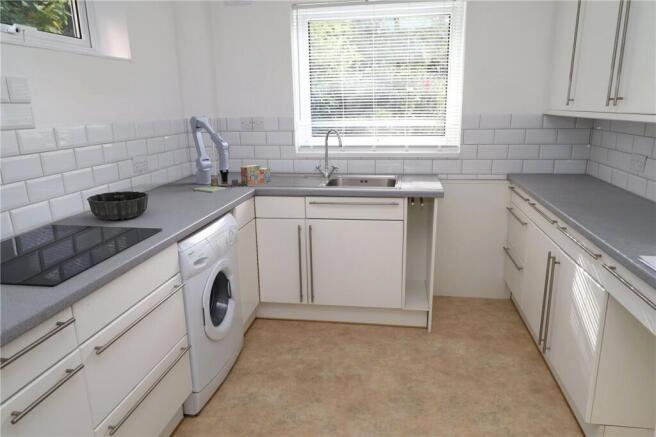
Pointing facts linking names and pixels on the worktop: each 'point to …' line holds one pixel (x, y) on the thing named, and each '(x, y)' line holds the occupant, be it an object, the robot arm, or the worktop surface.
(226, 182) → the walnut block
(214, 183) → the oak cylinder
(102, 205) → the bundt pan
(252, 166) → the stack of blocks
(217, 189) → the sage board
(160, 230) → the worktop surface
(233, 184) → the charcoal cube
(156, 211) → the worktop surface
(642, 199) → the worktop surface
